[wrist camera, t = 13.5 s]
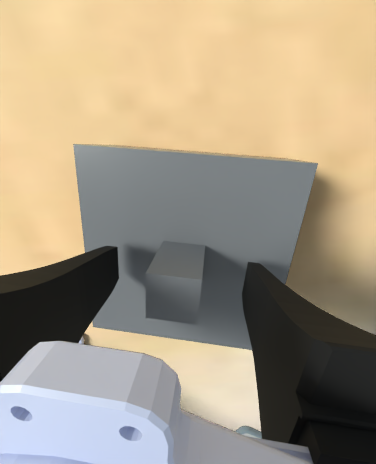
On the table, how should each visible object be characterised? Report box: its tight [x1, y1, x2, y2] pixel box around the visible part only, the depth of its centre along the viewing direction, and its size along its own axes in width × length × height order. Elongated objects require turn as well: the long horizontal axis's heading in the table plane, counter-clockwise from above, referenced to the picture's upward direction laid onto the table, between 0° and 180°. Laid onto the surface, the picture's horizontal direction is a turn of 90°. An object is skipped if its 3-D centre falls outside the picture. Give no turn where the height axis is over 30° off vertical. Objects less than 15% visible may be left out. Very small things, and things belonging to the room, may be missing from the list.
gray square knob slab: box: [73, 144, 318, 350], centre depth 14 cm, size 12×12×8 cm
